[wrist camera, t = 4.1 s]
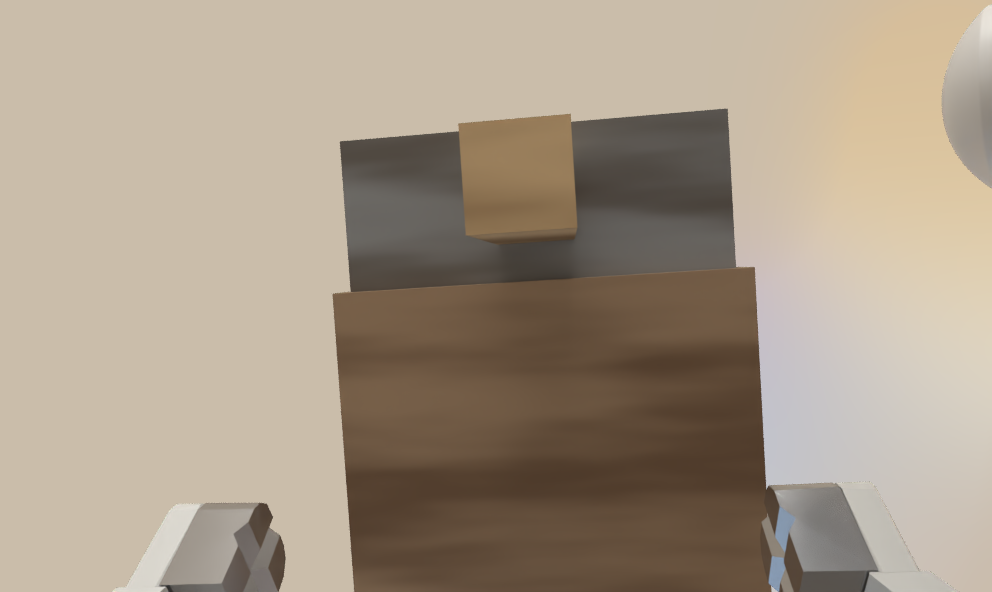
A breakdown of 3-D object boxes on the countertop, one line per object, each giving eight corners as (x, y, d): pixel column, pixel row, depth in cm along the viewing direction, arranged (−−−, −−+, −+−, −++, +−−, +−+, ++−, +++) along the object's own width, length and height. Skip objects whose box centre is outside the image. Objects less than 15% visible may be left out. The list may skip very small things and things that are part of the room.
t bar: (374, 289, 32) (364, 154, 32) (717, 267, 31) (709, 126, 31) (257, 303, 20) (240, 87, 20) (814, 269, 19) (802, 34, 18)
